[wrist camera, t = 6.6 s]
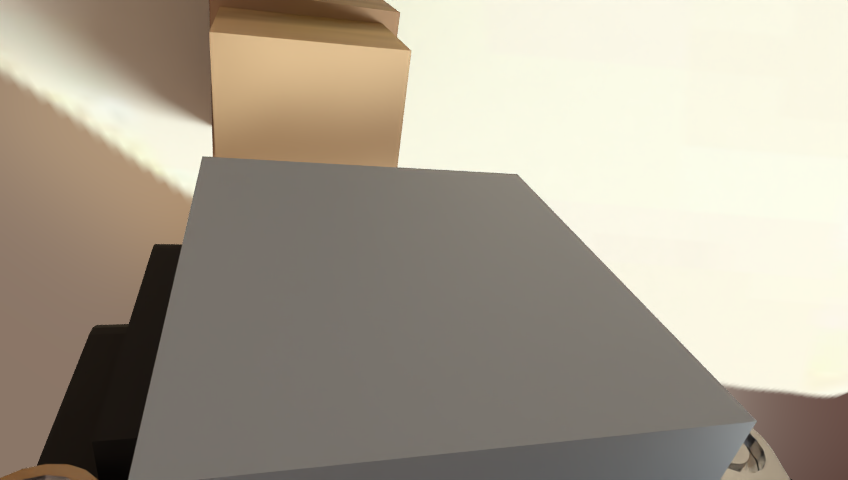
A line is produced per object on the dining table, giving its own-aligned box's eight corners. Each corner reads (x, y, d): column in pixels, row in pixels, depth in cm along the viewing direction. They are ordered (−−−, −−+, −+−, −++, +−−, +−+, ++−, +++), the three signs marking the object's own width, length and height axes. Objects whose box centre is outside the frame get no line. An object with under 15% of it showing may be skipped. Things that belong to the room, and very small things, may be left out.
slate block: (202, 156, 9) (126, 487, 4) (517, 174, 10) (756, 421, 5) (210, 407, 11) (171, 800, 6) (461, 390, 13) (587, 691, 8)
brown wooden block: (218, -29, 24) (209, -15, 20) (377, -5, 26) (400, 12, 22) (220, 128, 27) (213, 168, 23) (361, 138, 29) (378, 177, 25)
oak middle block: (219, 6, 20) (208, 31, 16) (382, 23, 22) (411, 50, 17) (226, 160, 23) (218, 217, 19) (369, 165, 25) (391, 218, 20)
